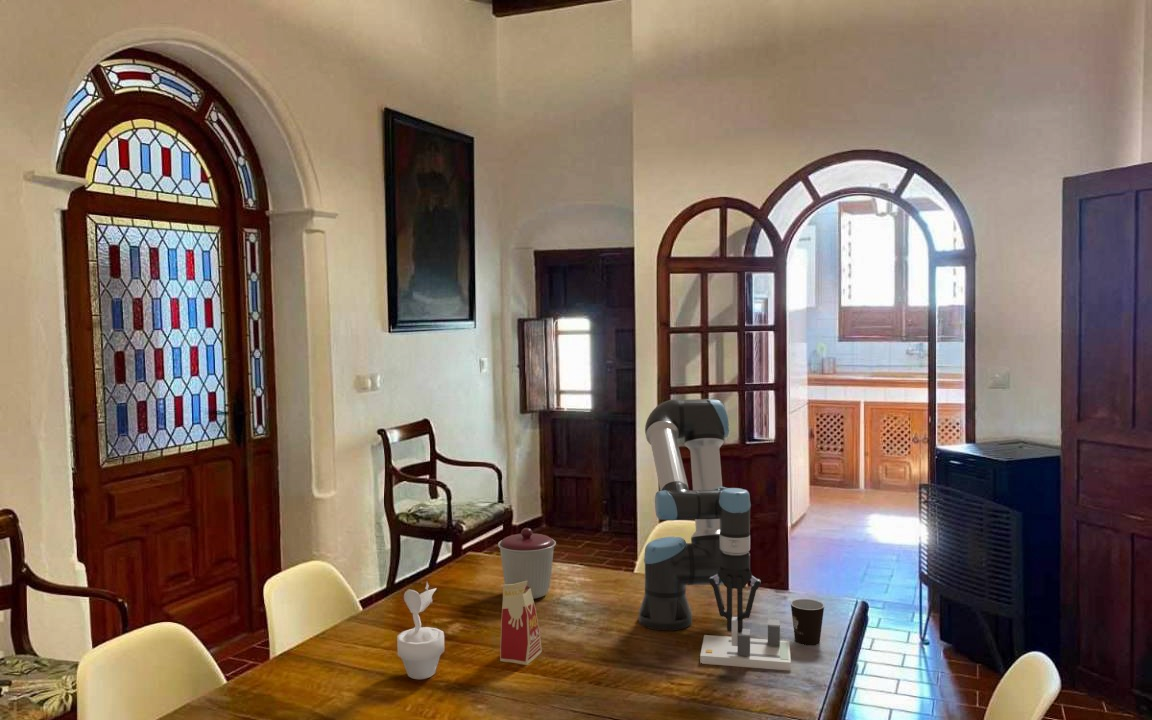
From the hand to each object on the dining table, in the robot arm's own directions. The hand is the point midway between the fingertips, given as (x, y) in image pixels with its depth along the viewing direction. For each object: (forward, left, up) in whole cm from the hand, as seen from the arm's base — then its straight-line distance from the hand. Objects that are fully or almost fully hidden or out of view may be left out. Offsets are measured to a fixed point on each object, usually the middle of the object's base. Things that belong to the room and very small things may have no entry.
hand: (734, 643), depth 215 cm
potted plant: (-74, -22, -5) cm, 78 cm away
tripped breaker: (+2, 0, -2) cm, 3 cm away
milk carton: (-54, -7, -5) cm, 55 cm away
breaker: (+10, +8, -2) cm, 13 cm away
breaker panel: (+3, +4, -5) cm, 7 cm away
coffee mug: (+18, +19, -5) cm, 27 cm away
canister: (-65, +40, -5) cm, 77 cm away
